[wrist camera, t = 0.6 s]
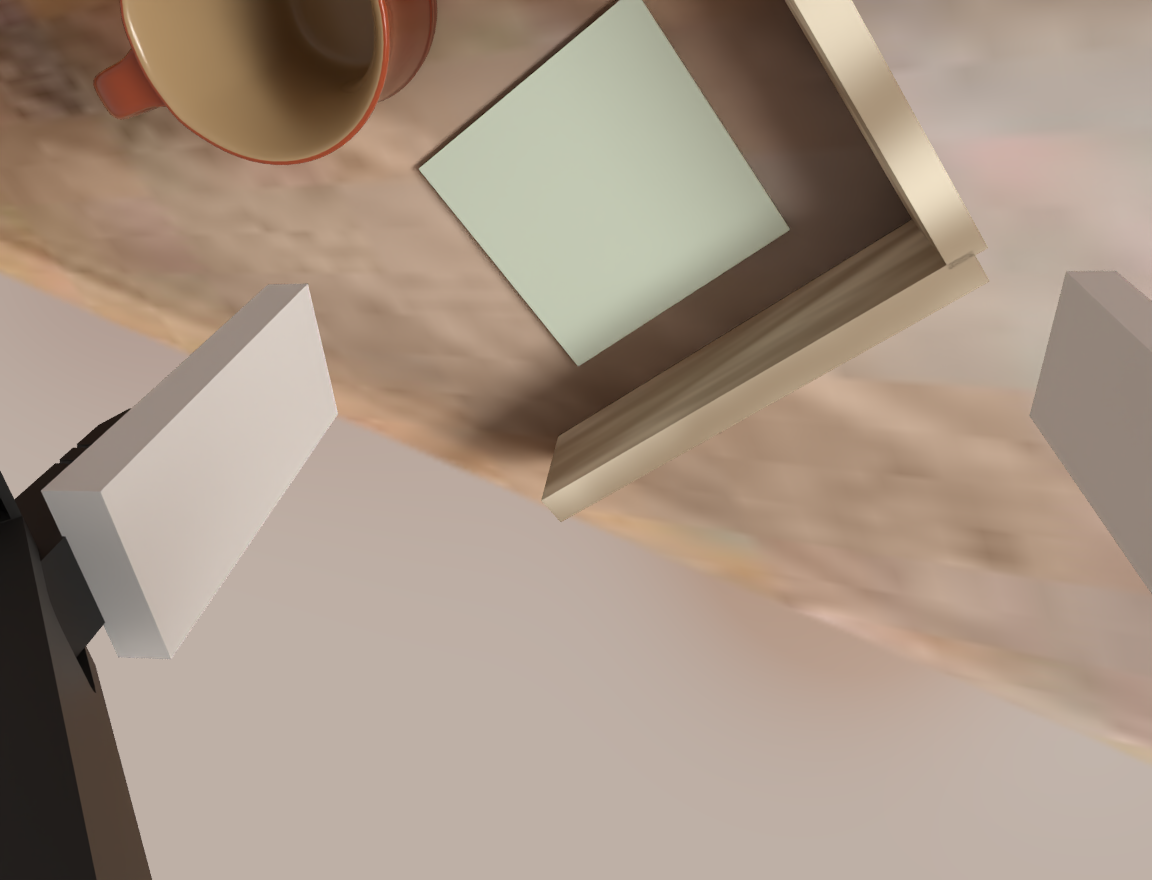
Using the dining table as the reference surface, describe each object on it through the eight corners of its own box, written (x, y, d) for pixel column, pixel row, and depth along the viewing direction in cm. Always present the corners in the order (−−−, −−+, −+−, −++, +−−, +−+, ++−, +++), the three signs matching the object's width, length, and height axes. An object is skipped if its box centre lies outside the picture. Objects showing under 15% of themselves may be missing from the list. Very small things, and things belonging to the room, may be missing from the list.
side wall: (744, -69, 33) (754, -69, 28) (779, -97, 32) (795, -101, 27) (914, 224, 38) (949, 270, 33) (947, 204, 37) (988, 248, 32)
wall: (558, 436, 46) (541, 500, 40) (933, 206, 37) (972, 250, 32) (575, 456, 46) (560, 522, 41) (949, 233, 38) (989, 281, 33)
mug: (404, -165, 33) (299, -199, 24) (495, 68, 37) (434, 112, 28) (155, -37, 36) (-17, -26, 27) (263, 164, 40) (142, 230, 31)
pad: (420, 167, 39) (418, 168, 39) (634, -13, 34) (634, -12, 34) (578, 364, 43) (578, 366, 43) (789, 227, 39) (790, 229, 38)
